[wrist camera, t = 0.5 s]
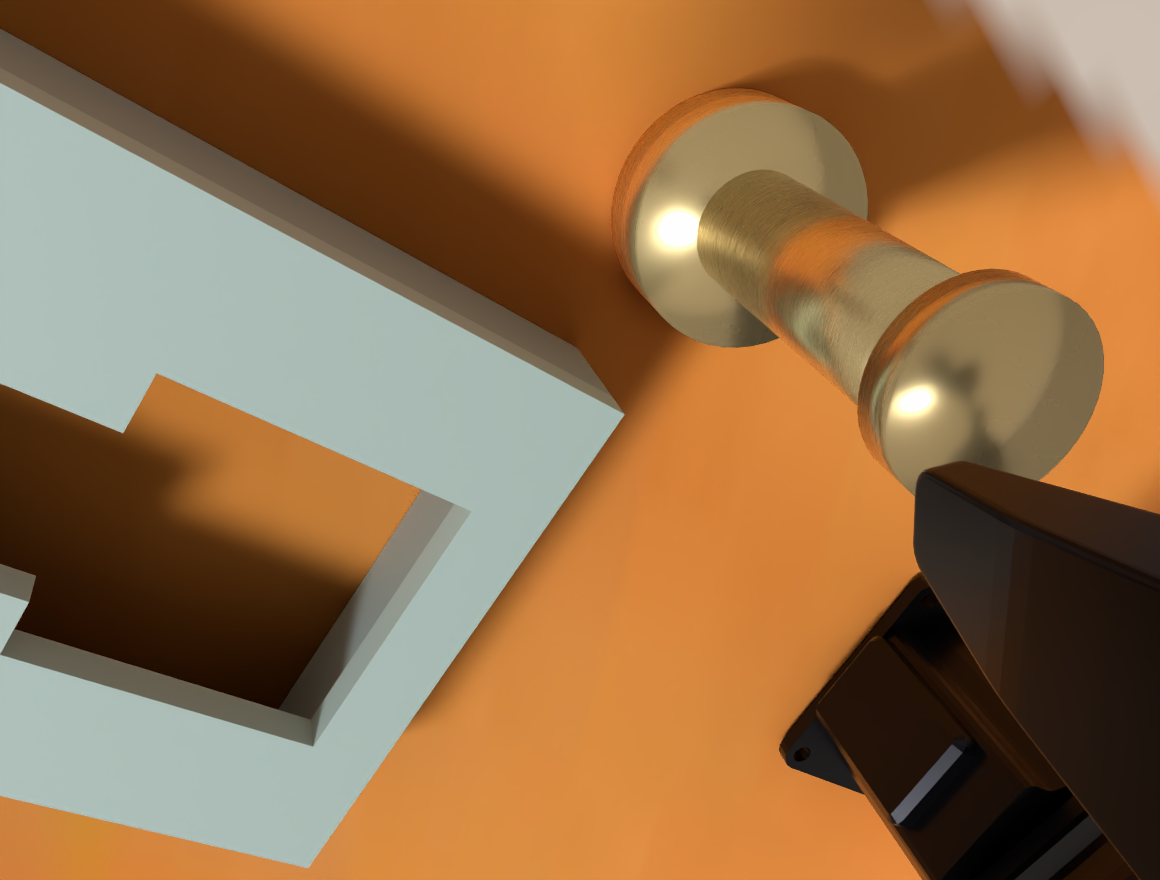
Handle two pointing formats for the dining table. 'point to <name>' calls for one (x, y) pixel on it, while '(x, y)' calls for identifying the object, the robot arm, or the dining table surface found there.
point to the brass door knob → (848, 290)
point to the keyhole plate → (281, 397)
